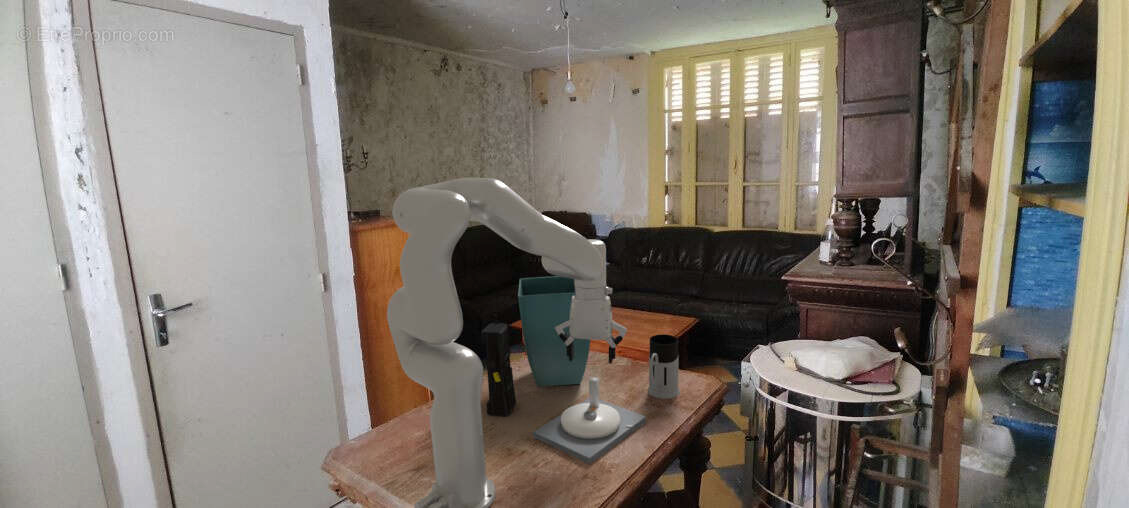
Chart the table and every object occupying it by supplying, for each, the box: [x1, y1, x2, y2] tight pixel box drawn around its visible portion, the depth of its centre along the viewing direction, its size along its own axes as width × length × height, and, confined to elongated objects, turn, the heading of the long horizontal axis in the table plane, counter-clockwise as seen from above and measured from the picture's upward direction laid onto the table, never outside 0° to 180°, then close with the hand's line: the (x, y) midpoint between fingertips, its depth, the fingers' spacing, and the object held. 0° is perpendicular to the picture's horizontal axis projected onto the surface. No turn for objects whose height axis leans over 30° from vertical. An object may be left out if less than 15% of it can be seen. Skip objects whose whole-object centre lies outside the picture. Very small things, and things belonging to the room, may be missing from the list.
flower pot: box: [517, 275, 592, 387], centre depth 152 cm, size 20×20×28 cm
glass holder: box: [647, 333, 681, 400], centre depth 139 cm, size 9×14×15 cm, turn 151°
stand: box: [532, 397, 647, 465], centre depth 125 cm, size 22×17×2 cm
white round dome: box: [561, 376, 620, 439], centre depth 124 cm, size 14×14×8 cm
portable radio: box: [480, 314, 517, 417], centre depth 133 cm, size 8×6×25 cm
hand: (591, 360), depth 127 cm, fingers open, 9 cm apart
